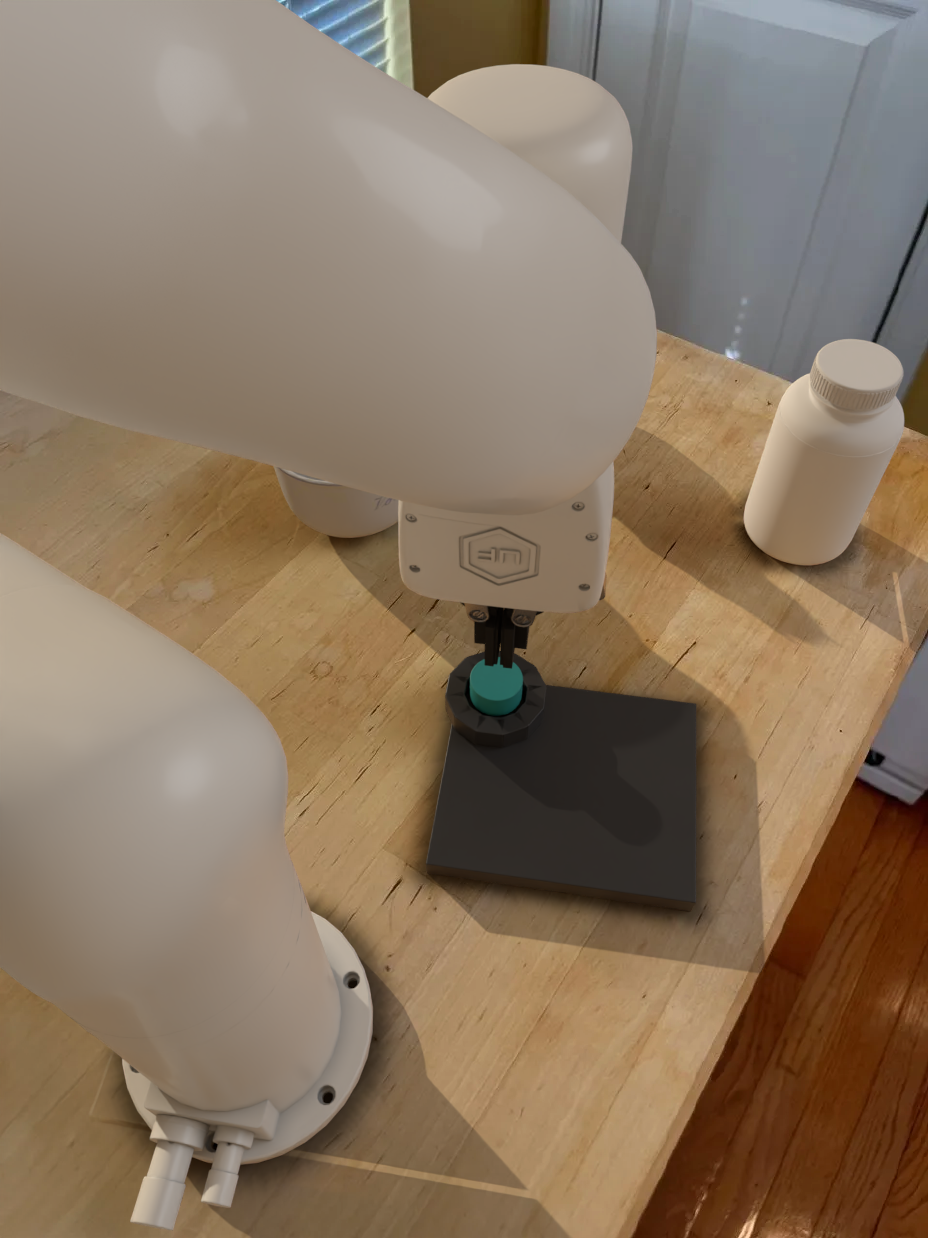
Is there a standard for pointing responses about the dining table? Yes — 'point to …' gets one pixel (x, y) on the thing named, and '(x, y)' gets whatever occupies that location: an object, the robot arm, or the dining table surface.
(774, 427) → the pill bottle
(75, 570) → the dining table surface
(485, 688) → the button
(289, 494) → the teacup
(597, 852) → the scale
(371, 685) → the dining table surface
